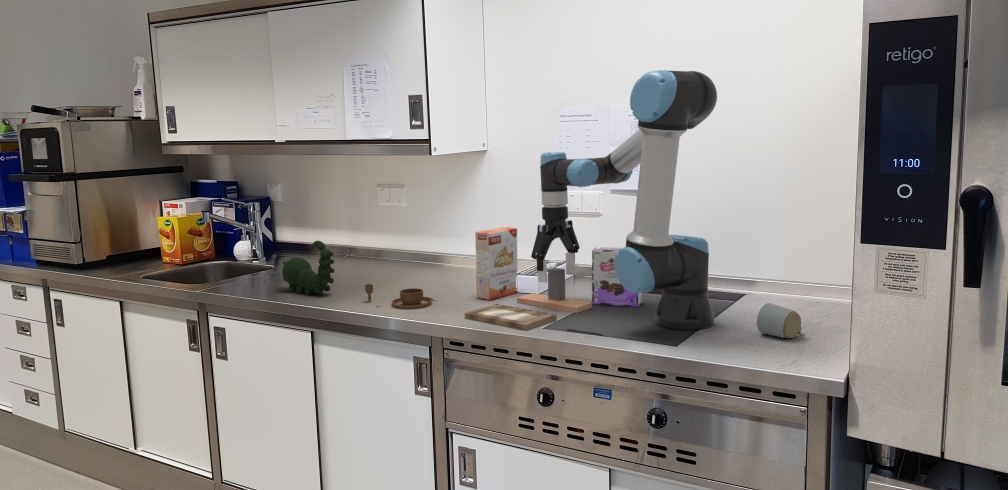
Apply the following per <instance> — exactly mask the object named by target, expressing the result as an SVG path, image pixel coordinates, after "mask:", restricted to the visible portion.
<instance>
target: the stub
mask: <svg viewBox="0 0 1008 490" xmlns="http://www.w3.org/2000/svg"><path fill="white" fill-rule="evenodd" d="M547 294H548V295H546V294H540V293H533V292H532V293H528V294H524V295H522V296H518V297H516V303H518V304H521V305H522V304H523V305H528V306H534V307H539V308H540V307H541V308H544V309H545V308H547V309H552V310H559V311H563V312H568V313H573V314H579V313H581V312H584V311H587V310H590V309H592V308H593V304H592V302H590V301H583V300H578V299H570V298H566V268H558V267H552V268H551V267H550V268H547Z"/></svg>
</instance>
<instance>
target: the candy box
mask: <svg viewBox="0 0 1008 490" xmlns="http://www.w3.org/2000/svg"><path fill="white" fill-rule="evenodd" d="M622 248H623V247H609V246H608V247H603V246H596V247H594V248H592V251H591V256H592V257H591V261H592V262H591V266H592V268H591V270H592V271H591V299H592V300H591V301H592V302H591V303H592V305H603V306H604V305H605V306H614V307H615V306H616V307H617V306H618V307H633V308H638V307H639V306H641V304H642V303H643V301H642V293H633V292H630V291H628V290H627V289H626V288H624V287H623V286H622V284H621V283H620V281H619V279H618V278H617V276H616V273H615V268H614V259H615V256H616V254H617V252H619V250H620V249H622Z"/></svg>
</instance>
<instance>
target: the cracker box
mask: <svg viewBox="0 0 1008 490" xmlns="http://www.w3.org/2000/svg"><path fill="white" fill-rule="evenodd" d="M475 277H476V279H475V280H476V281H475V282H476V288H475V289H476V298H477V299H481V300H487V301H491V300H496V299H500V298H503V297H505V296H509V295H513V294H517V293H518V287H517V288H516V277H517V278H518V228H516V227H509V226H505V227H504V226H501V227H496V228H491V229H486V230H485V229H484V230H480V231H475ZM516 289H517V290H516ZM516 292H517V293H516Z"/></svg>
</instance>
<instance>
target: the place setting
mask: <svg viewBox="0 0 1008 490" xmlns="http://www.w3.org/2000/svg"><path fill="white" fill-rule="evenodd" d="M364 290H365V291H364V292H365V294H366V295H367V296H368V297H367V300H368V301H367V303H372V297H371V296H372V294H373V292H374V284H371V283H368V284H365V285H364ZM421 302H424V303H421ZM432 302H435V303H436V302H437V303H438V301H437V300H435V299H433V298H432V297H429V296H424V289H421V288H415V287H414V288H412V287H411V288H404V289H401V290H399V298H395V299H394V300H392V301H391V305H392V306H393V307H394V308H395V309H399V310H416V309H423V308H427V307H430V306H431V304H432ZM399 303H403V304H402V305H401V304H399ZM420 303H421V304H420ZM375 306H376V308H379V307H381V305H380V304H379V305H375Z"/></svg>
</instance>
